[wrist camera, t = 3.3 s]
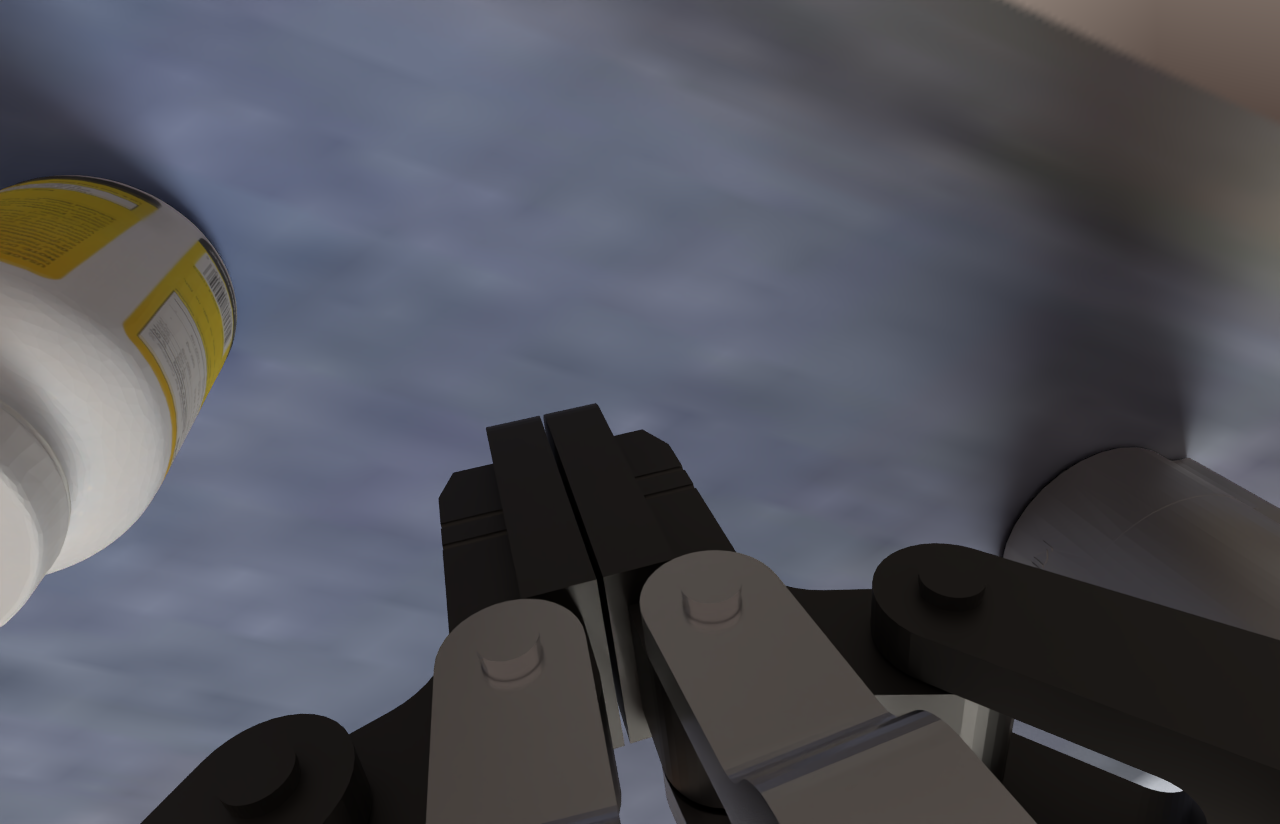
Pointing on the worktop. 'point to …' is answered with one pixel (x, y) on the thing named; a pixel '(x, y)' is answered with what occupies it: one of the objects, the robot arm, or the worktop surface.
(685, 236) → the worktop surface
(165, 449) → the pill bottle
